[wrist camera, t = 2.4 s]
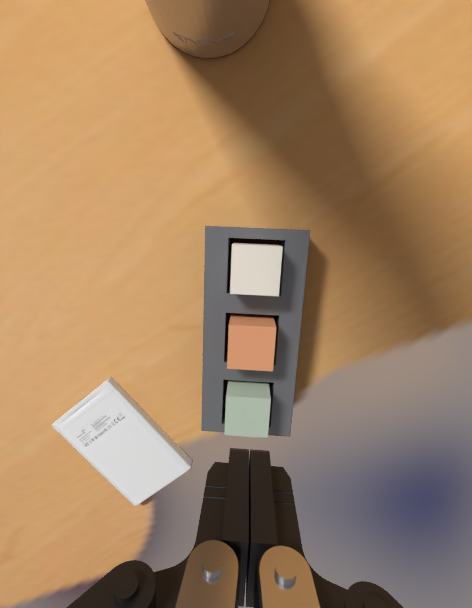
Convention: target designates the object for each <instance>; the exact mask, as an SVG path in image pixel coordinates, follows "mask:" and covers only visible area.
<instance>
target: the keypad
mask: <svg viewBox="0 0 472 608" xmlns="http://www.w3.org/2000/svg"><path fill="white" fill-rule="evenodd" d="M231 238H247V239H269V240H281V246H283V250H282V262H281V275H280V288H279V296H263V295H243V294H230V287H229V268H230V242H231ZM309 238H310V231H309V230H286V229H264V228H241V227H218V226H205V272H204V325H203V379H202V431H214V432H225V408H226V406H224V400H225V380H239V381H256V382H271V383H270V396H271V403H270V416H269V429H268V435H276V436H290V432H291V422H292V412H293V401H294V391H295V381H296V371H297V360H298V350H299V340H300V330H301V320H302V309H303V299H304V289H305V279H306V268H307V258H308V248H309ZM228 313H242V314H261V315H276V317H275V324H276V339H275V352H274V365H273V371H257V370H240V369H227V356H228V349H226V347H227V321H228Z"/></svg>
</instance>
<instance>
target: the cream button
mask: <svg viewBox="0 0 472 608" xmlns="http://www.w3.org/2000/svg"><path fill="white" fill-rule="evenodd" d="M282 250H283V246H280V245H277V244H255V243H233V244H232V254H231V280H230V294H243V295H263V296H279V288H280V275H281V262H282Z"/></svg>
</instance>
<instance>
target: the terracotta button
mask: <svg viewBox="0 0 472 608" xmlns="http://www.w3.org/2000/svg"><path fill="white" fill-rule="evenodd" d="M275 339H276V324H275V321H274V317H273V315H257V314H238V313H231V317H230V321H229V331H228V356H227V369H240V370H257V371H273V365H274V352H275Z"/></svg>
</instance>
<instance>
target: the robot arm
mask: <svg viewBox="0 0 472 608" xmlns="http://www.w3.org/2000/svg"><path fill="white" fill-rule="evenodd" d="M145 1H146V3H147V5H148V7H149V10H150V12H151V14H152V16H153V19H154V21H155V22H156V24H157V26H158V27H159V29H160V31H161V32H162V34H163V35H164V36H165V37H166V38H167V39H168V40H169V42H170V43H171V44H173V45H174V46H175V47H177V48H178V49H180V50H181V51H182V52H185V53H187V54H190V55H192V56H194V57H201V58H217V57H222V56H225V55H227V54H230V53H233V52H234V51H236V50H237V49H239V48H240V47H242V46H243V45H244V44H246V43H247V42H248V41H249V40H250V39H251V38H252V37H253V35H254V34H255V32H256V31H257V29H258V28H259V26H260V25H261V23H262V21H263V19H264V16H265V14H266V12H267V9H268V5H269V1H270V0H145ZM294 503H295V502H294V496H293V491H292V485H291V479H290V477H289V476H288V474H287V472H286V471H285V469H284V468H283V467H275V466H271V464H270V453H269V451H263V450H250V458H249V450H247V449H235V448H230V455H229V463H221V462H215V463H214V464H213V466H212V467H211V469H210V470H209V471H208V475H207V480H206V487H205V492H204V498H203V503H202V509H201V514H200V520H199V526H198V532H197V537H196V542H195V545H194V548H193V549H192V551H191V553H190V554H189V555H188V557H187V558H186V559H185V560H184V561H182V562H181V563H179V564H178V565H176V566H174V567H171V568H168V569H164V570H161V571H157V572H154V573H153V571H152V569H151V568H150V567H149V566H148V565H147V564H146V563H144V562H141V561H137V560H133V561H127V562H124V563H121V564H120V565H118V566H116V567H115V568H114V569H112V570H111V571H110V572H109V573H107V574H106V575H105V576H104V577H103V578H101V579H100V580H99V581H98V582H97V583H95V584H94V585H93V586H92V587H91V588H90V589H88V590H87V591H86V592H85V593H84V594H82V595H81V596H80V597H79V598H78V599H76V600H75V601H74V602H73V603H72V604H70V605H69V606H68V607H67V608H238V606H244V595H245V582H246V607H254V608H403V607H402V606H401V605H400V604H399V603H398V602H397V601H396V600H395V599H394V598H393V597H392V596H391V595H390V594H389V593H388V592H387V591H385V590H384V589H383V588H381V587H379V586H378V585H376V584H373V583H370V582H363V581H361V582H357V583H355V584H353V585H352V586H350V588H349V589H348V590H347V589H345V588H342V587H340V586H338V585H336V584H333V583H331V582H329V581H327V580H325V579H323V578H322V577H321V576H319V575H318V574H317V573H316V572H315V571H314V570H313V569H312V568H311V566H310V565H309V563H308V562H307V560H306V558H305V556H304V553H303V549H302V544H301V538H300V532H299V526H298V521H297V514H296V508H295V504H294Z"/></svg>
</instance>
